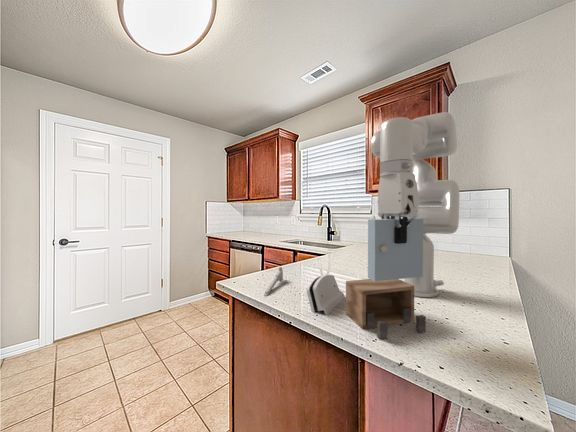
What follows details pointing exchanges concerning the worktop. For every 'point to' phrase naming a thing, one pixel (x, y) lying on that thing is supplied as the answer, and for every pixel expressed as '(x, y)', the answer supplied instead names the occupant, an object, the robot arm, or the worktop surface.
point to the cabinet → (381, 304)
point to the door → (394, 250)
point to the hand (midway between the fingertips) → (395, 241)
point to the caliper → (277, 278)
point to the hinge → (324, 294)
